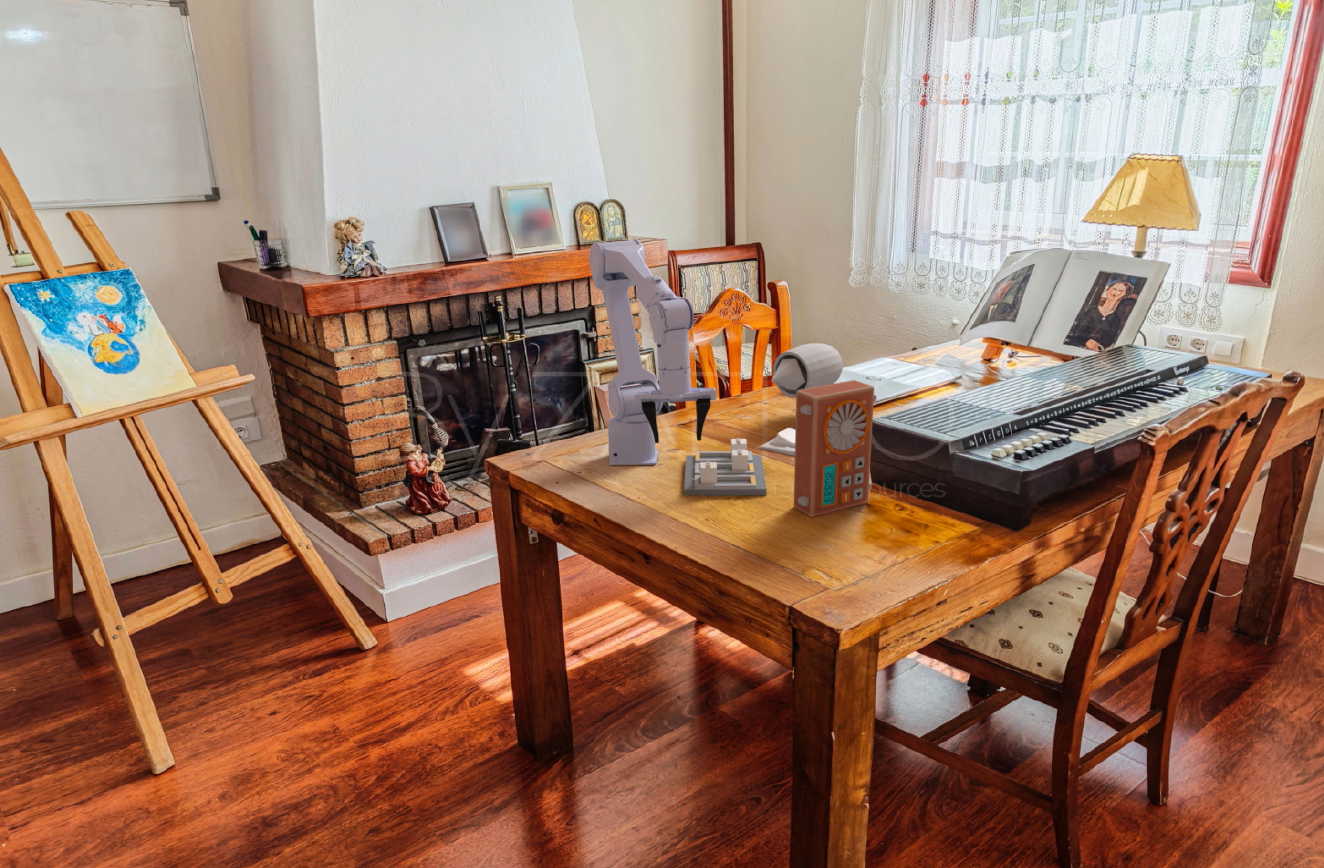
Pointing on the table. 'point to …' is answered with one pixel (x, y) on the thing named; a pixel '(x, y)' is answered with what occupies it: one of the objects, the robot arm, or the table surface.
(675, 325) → the robot arm
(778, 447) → the light switch
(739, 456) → the slider mid
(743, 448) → the slider far
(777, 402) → the table surface
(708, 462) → the slider near
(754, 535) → the table surface
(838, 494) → the control panel
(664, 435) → the table surface
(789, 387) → the jet engine
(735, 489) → the switch unit
